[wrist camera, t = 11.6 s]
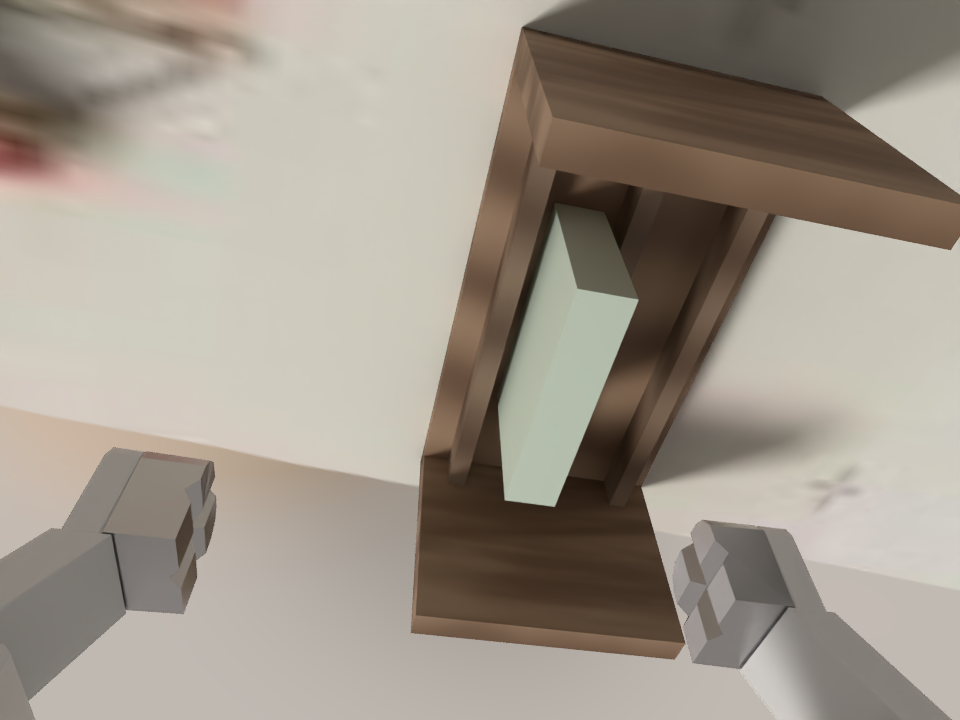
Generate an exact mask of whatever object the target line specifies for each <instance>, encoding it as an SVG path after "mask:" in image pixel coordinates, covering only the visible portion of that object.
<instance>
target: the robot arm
mask: <svg viewBox="0 0 960 720" xmlns="http://www.w3.org/2000/svg"><path fill="white" fill-rule="evenodd" d="M214 478H215V472H214V463H213V462H212V461H208V460H202V459H194V458H188V457H181V456H174V455H167V454H160V453H153V452H144V451H137V450H130V449H122V448H116V447H113V448H112V449H111V450H110V451H108V452H107V453H106V454H105V455H104V457H103V459H102V460H101V462H100V464H99V465H98V467H97V469H96V471H95V472H94V474H93V476H92V478H91V479H90V481H89V483H88V485H87V486H86V488H85V490H84V491H83V493H82V495H81V497H80V498H79V500H78V502H77V503H76V505H75V507H74V509H73V510H72V512H71V514H70V515H69V517H68V519H67V521H66V522H65V524H64V526H63V528H62V529H55V528H51V529H49V530H47V531H46V532H44V533H43V534H41V535H39V536H38V537H36V538H34V539H33V540H31V541H29V542H28V543H26V544H25V545H23V546H21V547H20V548H18V549H16V550H15V551H13V552H12V553H10V554H8V555H7V556H5V557H3V558H2V559H0V720H35V718H34V715H33V712H32V710H31V707H30V704H29V702H28V701H29V700H30V699H31V698H32V697H33V696H34V695H35V694H37V692H39V691H40V690H41V689H42V688H43V687H44V686H46V684H48V683H49V682H50V681H51V680H52V679H53V678H54V677H56V676H57V675H58V674H59V673H60V672H61V671H62V670H63V669H64V668H66V667H67V666H68V665H69V664H70V663H71V662H72V661H73V660H75V659H76V658H77V657H78V656H79V655H80V654H81V653H82V652H83V651H85V650H86V649H87V648H88V647H89V646H90V645H91V644H92V643H94V641H96V639H98V638H99V637H100V636H101V635H102V634H104V633H105V632H106V631H107V630H108V629H109V628H110V627H111V626H112V625H113V624H115V623H116V622H117V621H118V620H119V619H120V618H121V617H123V616H124V615H125V614H126V610H133V611H148V612H162V613H176V614H184V611H185V609H186V606H187V603H188V600H189V598H190V595H191V592H192V590H193V587H194V584H195V582H196V579H197V568H196V560H197V559H199V558H200V557H201V556H203V555H204V554H205V553H206V551H207V548H208V545H209V542H210V539H211V536H212V532H213V527H214V522H215V516H216V495H214V493H212V491H211V490H210V488H211V486H212V483H213V481H214ZM691 537H692V540H693V544H691V545H689V546H687V547H686V548H684V549H682V550H681V552H680V553H679V556H678V558H677V560H676V561H675V566H674V572H673V588H674V594H675V598H676V602H677V604H678V605H679V606H680V607H681V608H682V609H683V611H684V612H685V613H686V614H687V615H688V618H687V620H686V622H685V624H684V626H683V628H684V632H685V636H686V640H687V644H688V647H689V651H690V655H691V659H692V662H693V663H696V664H704V665H712V666H721V667H728V668H736V669H741V670H740V673H741V674H742V675H743V677H744V678H745V679H746V681H747V682H748V683H749V684H750V686H751V687H752V688H753V690H754V691H755V692H756V693H757V695H758V696H759V697H760V699H761V700H762V701H763V703H764V704H765V705H766V706H767V708H768V709H769V710H770V711H771V713H772V714H773V716H774V717H775V718H776V719H777V720H952V719H950V718H949V717H948V716H947V715H946V714H945V713H944V712H943V711H942V710H940V709H939V708H938V707H937V706H936V705H935V704H934V703H933V702H932V701H931V700H930V699H929V698H928V697H926V696H925V695H924V694H923V693H922V692H921V691H920V690H919V689H917V687H915V686H914V685H913V684H912V683H911V682H910V681H909V680H908V679H907V678H905V677H904V676H903V675H902V674H901V673H900V672H899V671H898V670H897V669H896V668H895V667H894V666H892V665H891V664H890V663H889V662H888V661H887V660H886V659H885V658H884V657H883V656H881V655H880V654H879V653H878V652H877V651H876V650H875V649H874V648H873V647H872V646H871V645H870V644H868V643H867V642H866V641H865V640H864V639H863V638H862V637H861V636H859V635H858V634H857V633H856V632H855V631H854V630H853V629H852V628H851V627H850V626H849V625H848V624H846V623H845V622H844V621H843V620H842V619H841V618H840V617H839V616H838V615H837V614H836V613H833V612H827V611H826V609H825V607H824V606H823V603H822V600H821V598H820V596H819V594H818V592H817V589H816V587H815V585H814V583H813V581H812V579H811V576H810V574H809V572H808V570H807V567H806V565H805V563H804V561H803V559H802V556H801V554H800V552H799V550H798V548H797V545H796V543H795V541H794V539H793V537H792V535H791V534H790V533H789V532H788V531H787V530H786V529H778V528H769V527H760V526H757V527H756V526H754V525H745V524H736V523H727V522H718V521H709V520H701V521H700V522H698V523H697V524H696V525H695V527H694V529H693V530H692V532H691Z"/></svg>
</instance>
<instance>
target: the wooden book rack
mask: <svg viewBox="0 0 960 720" xmlns="http://www.w3.org/2000/svg"><path fill="white" fill-rule="evenodd" d="M554 203H560V204H565V205H570V206H575V207H580V208H585V209H590V210H595V211H600V212H605V215H606V217H607V220H608V223H609V225H610V228H611V230H612V233H613V235H614V238H615V240H616V243H617V245H618V248H619V251H620V253H621V256H622V258H623V261H624V263H625V266H626V268H627V271H628V273H629V276H630V279H631V281H632V284H633V286H634V289H635V291H636V294H637V296H638V299H639V301H638V303H637V305H636V308H635V310H634V313H633V315H632V318H631V320H630V323H629V325H628V328H627V330H626V333H625V335H624V337H623V340H622V342H621V345H620V347H619V350H618V352H617V355H616V357H615V360H614V362H613V365H612V367H611V369H610V372H609V374H608V377H607V379H606V382H605V384H604V387H603V389H602V392H601V394H600V396H599V399H598V401H597V404H596V406H595V409H594V411H593V414H592V416H591V419H590V421H589V424H588V426H587V428H586V431H585V433H584V436H583V438H582V441H581V443H580V446H579V448H578V451H577V453H576V456H575V458H574V460H573V463H572V465H571V468H570V470H569V473H568V475H567V478H566V480H565V483H564V485H563V488H562V490H561V492H560V495H559V497H558V500H557V502H556V505H555V507H553V506H545V505H537V504H530V503H522V502H514V501H507V500H505V497H504V483H503V469H502V455H501V441H500V428H499V414H498V400H497V394H498V391H499V387H500V384H501V380H502V377H503V374H504V370H505V367H506V364H507V360H508V357H509V354H510V350H511V347H512V343H513V340H514V337H515V333H516V330H517V327H518V323H519V320H520V317H521V313H522V310H523V306H524V303H525V300H526V296H527V293H528V290H529V286H530V283H531V280H532V276H533V273H534V269H535V266H536V263H537V259H538V256H539V253H540V249H541V246H542V243H543V239H544V236H545V232H546V229H547V226H548V222H549V219H550V216H551V212H552V209H553V205H554ZM775 215H780V216H785V217H790V218H795V219H800V220H805V221H810V222H815V223H820V224H824V225H829V226H834V227H839V228H844V229H849V230H854V231H859V232H864V233H869V234H874V235H879V236H884V237H889V238H893V239H898V240H903V241H908V242H913V243H918V244H923V245H928V246H933V247H938V248H943V249H948V250H951V249H952V247H953V246H954V244H955V243H956V241H957V240H958V238H959V237H960V195H959V194H958V193H956V192H955V191H954V190H952V189H951V188H949V187H948V186H947V185H945V184H944V183H942V182H941V181H940V180H938V179H937V178H935V177H934V176H933V175H931V174H930V173H928V172H927V171H926V170H924V169H923V168H921V167H920V166H919V165H917V164H916V163H914V162H913V161H912V160H910V159H909V158H907V157H906V156H905V155H903V154H902V153H900V152H899V151H898V150H896V149H895V148H893V147H892V146H891V145H889V144H888V143H886V142H885V141H884V140H882V139H881V138H879V137H878V136H877V135H875V134H874V133H872V132H871V131H870V130H868V129H867V128H865V127H864V126H863V125H861V124H860V123H858V122H857V121H856V120H854V119H853V118H851V117H850V116H849V115H847V114H846V113H844V112H843V111H841V110H840V109H839V108H837V107H836V106H834V105H833V104H832V103H830V102H829V101H827V100H826V99H825V98H823V97H822V96H817V95H813V94H809V93H805V92H800V91H796V90H792V89H787V88H783V87H779V86H774V85H770V84H766V83H761V82H757V81H753V80H748V79H744V78H740V77H736V76H731V75H727V74H723V73H718V72H714V71H710V70H705V69H701V68H697V67H692V66H688V65H684V64H680V63H675V62H671V61H667V60H662V59H658V58H654V57H649V56H645V55H641V54H636V53H632V52H628V51H624V50H619V49H615V48H611V47H606V46H602V45H598V44H593V43H589V42H585V41H580V40H576V39H572V38H567V37H563V36H559V35H555V34H550V33H546V32H542V31H537V30H533V29H529V28H524V27H522V29H521V33H520V37H519V42H518V46H517V50H516V55H515V59H514V63H513V68H512V72H511V76H510V80H509V85H508V89H507V93H506V98H505V102H504V106H503V111H502V115H501V119H500V123H499V128H498V132H497V136H496V141H495V145H494V149H493V154H492V158H491V162H490V166H489V171H488V175H487V179H486V184H485V188H484V192H483V196H482V201H481V205H480V209H479V214H478V218H477V222H476V227H475V231H474V235H473V239H472V244H471V248H470V252H469V257H468V261H467V265H466V270H465V274H464V278H463V282H462V287H461V291H460V295H459V300H458V304H457V308H456V313H455V317H454V321H453V325H452V330H451V334H450V338H449V343H448V347H447V351H446V356H445V360H444V364H443V368H442V373H441V377H440V381H439V386H438V390H437V394H436V399H435V403H434V407H433V411H432V416H431V420H430V424H429V429H428V433H427V437H426V442H425V446H424V450H423V454H422V459H421V466H420V483H419V502H418V519H417V535H416V554H415V570H414V587H413V606H412V622H411V633H417V634H426V635H437V636H446V637H456V638H466V639H476V640H486V641H496V642H506V643H516V644H526V645H536V646H546V647H556V648H567V649H576V650H585V651H596V652H606V653H615V654H626V655H635V656H645V657H656V658H665V659H675V658H676V657H677V655H678V654H679V652H680V651H681V649H682V648H683V646H684V645H685V640H684V637H683V633H682V630H681V626H680V623H679V619H678V615H677V612H676V608H675V605H674V601H673V598H672V594H671V591H670V587H669V584H668V581H667V577H666V573H665V570H664V566H663V563H662V559H661V555H660V552H659V548H658V545H657V541H656V538H655V534H654V531H653V527H652V524H651V520H650V517H649V513H648V510H647V506H646V502H645V499H644V495H643V492H642V488H641V485H642V483H643V481H644V479H645V477H646V475H647V473H648V471H649V469H650V467H651V465H652V463H653V461H654V459H655V457H656V455H657V453H658V451H659V449H660V447H661V445H662V443H663V441H664V439H665V437H666V435H667V433H668V431H669V429H670V427H671V425H672V423H673V421H674V418H675V416H676V414H677V412H678V410H679V408H680V406H681V404H682V402H683V400H684V398H685V396H686V394H687V392H688V390H689V388H690V386H691V384H692V382H693V380H694V378H695V376H696V374H697V372H698V370H699V368H700V366H701V364H702V362H703V360H704V358H705V356H706V354H707V352H708V350H709V348H710V346H711V344H712V342H713V340H714V338H715V336H716V334H717V332H718V330H719V328H720V326H721V324H722V322H723V320H724V318H725V316H726V314H727V312H728V310H729V308H730V306H731V304H732V302H733V300H734V298H735V296H736V294H737V292H738V290H739V288H740V286H741V284H742V282H743V280H744V278H745V276H746V274H747V272H748V270H749V268H750V266H751V264H752V262H753V260H754V258H755V256H756V254H757V252H758V250H759V248H760V246H761V244H762V242H763V240H764V238H765V236H766V234H767V232H768V230H769V227H770V225H771V223H772V221H773V219H774V217H775Z"/></svg>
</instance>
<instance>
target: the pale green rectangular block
mask: <svg viewBox="0 0 960 720" xmlns="http://www.w3.org/2000/svg"><path fill="white" fill-rule="evenodd" d="M638 301H639V299H638V296H637V294H636V291H635V289H634V286H633V284H632V281H631V279H630V276H629V273H628V271H627V268H626V266H625V263H624V261H623V258H622V256H621V253H620V251H619V248H618V245H617V243H616V240H615V238H614V235H613V233H612V230H611V228H610V225H609V223H608V220H607V217H606V215H605V212H600V211H595V210H590V209H585V208H580V207H575V206H570V205H565V204H560V203H554V205H553V209H552V212H551V216H550V219H549V222H548V226H547V229H546V232H545V236H544V239H543V243H542V246H541V249H540V253H539V256H538V259H537V263H536V266H535V269H534V273H533V276H532V280H531V283H530V286H529V290H528V293H527V296H526V300H525V303H524V306H523V310H522V313H521V317H520V320H519V323H518V327H517V330H516V333H515V337H514V340H513V343H512V347H511V350H510V354H509V357H508V360H507V364H506V367H505V370H504V374H503V377H502V380H501V384H500V387H499V391H498V394H497V400H498V414H499V428H500V441H501V455H502V469H503V483H504V497H505V500H507V501H514V502H522V503H530V504H537V505H545V506H553V507H555V505H556V502H557V500H558V497H559V495H560V492H561V490H562V488H563V485H564V483H565V480H566V478H567V475H568V473H569V470H570V468H571V465H572V463H573V460H574V458H575V456H576V453H577V451H578V448H579V446H580V443H581V441H582V438H583V436H584V433H585V431H586V428H587V426H588V424H589V421H590V419H591V416H592V414H593V411H594V409H595V406H596V404H597V401H598V399H599V396H600V394H601V392H602V389H603V387H604V384H605V382H606V379H607V377H608V374H609V372H610V369H611V367H612V365H613V362H614V360H615V357H616V355H617V352H618V350H619V347H620V345H621V342H622V340H623V337H624V335H625V333H626V330H627V328H628V325H629V323H630V320H631V318H632V315H633V313H634V310H635V308H636V305H637V303H638Z"/></svg>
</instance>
